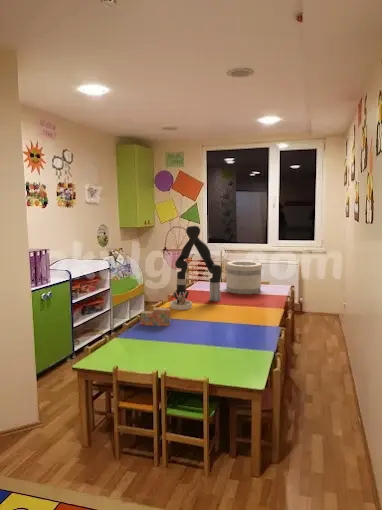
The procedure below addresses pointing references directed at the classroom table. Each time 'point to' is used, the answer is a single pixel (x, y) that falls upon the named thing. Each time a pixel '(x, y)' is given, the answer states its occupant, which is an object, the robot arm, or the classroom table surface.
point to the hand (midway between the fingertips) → (180, 303)
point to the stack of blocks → (156, 317)
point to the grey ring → (181, 305)
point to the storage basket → (243, 277)
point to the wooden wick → (181, 300)
